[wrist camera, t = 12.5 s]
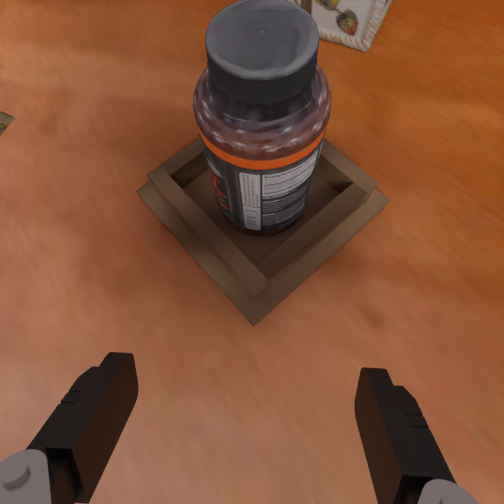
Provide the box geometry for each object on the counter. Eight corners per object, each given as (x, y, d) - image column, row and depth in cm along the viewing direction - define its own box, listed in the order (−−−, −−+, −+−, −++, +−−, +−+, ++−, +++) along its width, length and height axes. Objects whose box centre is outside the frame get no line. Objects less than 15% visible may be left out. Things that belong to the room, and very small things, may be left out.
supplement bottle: (209, 172, 23) (162, -7, 12) (291, 152, 23) (315, -39, 12) (229, 249, 21) (193, 113, 10) (319, 226, 21) (377, 71, 10)
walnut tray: (140, 198, 23) (124, 174, 20) (266, 108, 26) (266, 75, 23) (253, 326, 20) (252, 318, 17) (384, 208, 22) (402, 183, 20)
